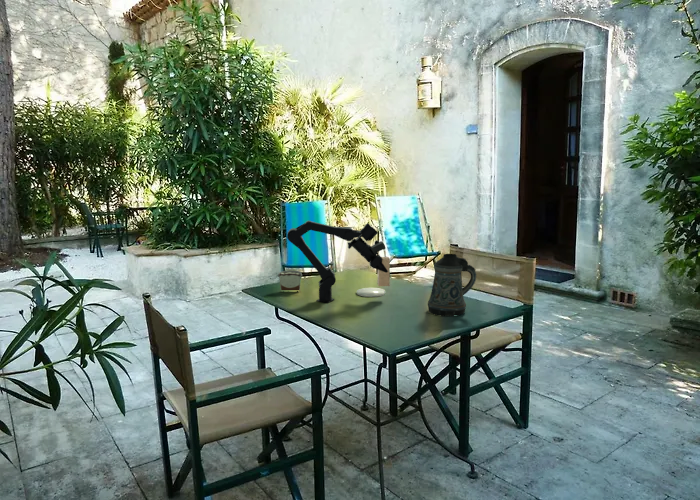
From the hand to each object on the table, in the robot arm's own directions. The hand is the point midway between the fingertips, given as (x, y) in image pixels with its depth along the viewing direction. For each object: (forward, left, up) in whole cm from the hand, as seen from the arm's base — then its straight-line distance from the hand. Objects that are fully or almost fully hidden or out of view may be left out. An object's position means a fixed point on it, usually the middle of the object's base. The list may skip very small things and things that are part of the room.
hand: (386, 270), depth 261 cm
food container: (-6, +50, -14) cm, 52 cm away
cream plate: (+6, +11, -13) cm, 19 cm away
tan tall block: (-1, +1, -7) cm, 7 cm away
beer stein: (-8, -34, -14) cm, 37 cm away
